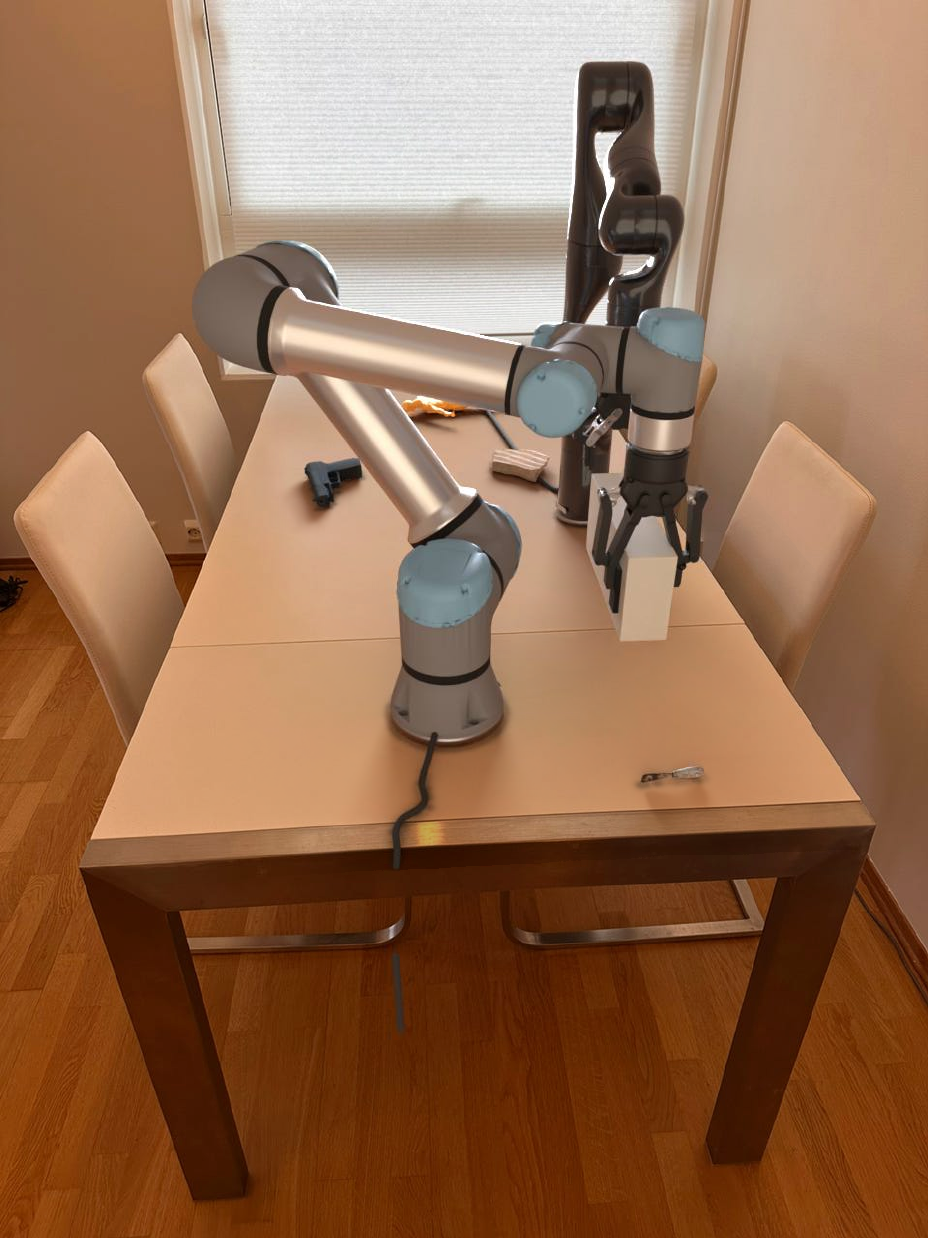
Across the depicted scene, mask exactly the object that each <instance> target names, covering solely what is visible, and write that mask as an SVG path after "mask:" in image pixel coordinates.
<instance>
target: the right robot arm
mask: <svg viewBox="0 0 928 1238" xmlns="http://www.w3.org/2000/svg"><path fill="white" fill-rule="evenodd" d="M653 79H654V78H653V75H652V71H651V70H650V68H649V67H648V65H647V64H645V63H644V62H641V61H634V60H626V61H624V60H620V61H619V60H615V61H614V60H612V61H611V60H608V61H607V60H606V61H604V60H602V61H601V60H599V61H597V60H596V61H586V62H584V63H583V64H582V65H581V66H580V67H579V70H578V73H577V76H576V80H575V88H574V100H573V101H574V102H573V103H574V104H573V109H574V110H573V149H572V150H573V152H572V153H573V154H572V155H573V157H572V184H571V196H570V207H569V218H568V227H567V238H566V251H565V277H564V278H565V279H564V280H565V281H564V301H563V313H562V321H561V323H562V322H564V321H569V322H571V323H577V324H587V322H588V320H589V318H590V316H591V315H592V313H593V312H594V310H595V309H596V307H597V306H598V305H599V303H601V301H602V299H603V298H605V296H606V294H607V299H606V300H607V301H606V314H605V324H604V326H618V327H631V326H635V327H637V323H638V322H639V317H640V315H641V313H642V312H644V311H646V310H648V309H652V308H662V298H663V292H664V287H665V282H666V279H667V276H668V273H669V270H670V267H671V264H672V262H673V259H674V256H675V254H676V251H677V249H678V246H679V244H680V241H681V238H682V235H683V233H684V230H685V229H684V228H685V221H686V219H685V218H686V217H685V216H686V215H685V210H684V208H683V204H682V203H681V201H680V200H679V199H678V197H675V196H674V195H672V194H662V181H661V176H660V171H659V166H658V161H657V157H656V150H655V135H656V133H655V131H656V130H655V129H656V126H655V125H656V123H655V89H654V87H655V86H654V80H653ZM597 135H618V136H617V137H616V138H615V139H614V140H613V142H612V143H611V145H610V146H609V148H608V150H607V153H606V155H605V158H604V161H603V170H602V168H601V166H600V163H599V158H598V156H597V152H596V151H597V150H596V136H597ZM624 256H649V257H648V259H647V260H646V262H645V263H644V265H643V266H641V267H640V268H638V269H636V270H633V271H628V272H625V273H621V271H622V268H623V263H624ZM630 406H631V394H625V393H624V394H617V393H604V392H599V394H598V396H597V400H596V404H595V406H594V408H593V409H592V411H591V414H590V415H589V416H588V417H587V419H586V420H585V421H584V422H583V423H582V424H581V426H580V427H579V428H578V429H576V430H575V431H574V432H572V433H571V434H568V435H566V436H564V437H561V439H560V440H561V441H560V461H559V478H558V487H557V486H554V485H553V484H550V482H548V481H547V480H546V479H545V478H543V477H542V476H541V474H540V475H539V476H538V478H537V481H539V482H540V483H541V484H542V485H543V486H544V487H545V488H547V489H548V490H550V491H552V492H555V493H558V494H557V501H555V507H556V517H557V519H558V520H559V521H561V522H563V523H565V524H566V525H570V526H576V527H588V514H589V501H590V488H591V475H592V474H599V473H610V465H611V454H612V441H613V431H619V430H623V429H626V430H628V427H629V419H630V410H631V408H630ZM484 412H485V413H486V414H487V416H488V417H489V419H490V420H491V422H492V423H493V424H494V426H495V427H496V429H497V430H498V432H499V433H500V434H501V436H502V437H503V439H504V440H505V442H506V443H507V444H508V446H509V448H510V449H511V450H518V448H517V447H516V446H515V444H514V443H513V442H512V440H511V438H510V437H509V435H507V433H506V432H505V430H504V429H503V427H502V425H500V423H499V421H498V420H497V419H496V417H495V416H494V415H493V412H492V411H487V410H484Z"/></svg>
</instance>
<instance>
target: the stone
mask: <svg viewBox="0 0 928 1238" xmlns="http://www.w3.org/2000/svg"><path fill="white" fill-rule="evenodd" d="M549 461H550V456H549V455H547V454H545V453H543V451H542V450H540V451H537V450H533V449H525V448H524V449H523V448H521V449H517V450H512V449H511V448H502V449H494V450H493V452H492V459H491V465H490V469H489V470H490V471H492V472H497V473H501V474H504V475H513V476H517V477H520V478H522V479H524V480H527V481H529V482H533V483H534V482H537V481H538V479H537V478H538V476H539V475H540V476H541V472H542V471H544V469H545V468H547V466H548V463H549Z"/></svg>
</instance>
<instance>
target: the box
mask: <svg viewBox="0 0 928 1238" xmlns="http://www.w3.org/2000/svg"><path fill="white" fill-rule="evenodd" d="M623 476H624V472H609V473H599V474H592V475H591V488H590V501H589V514H588V526H586V528H587V529H586V540H585V541H586V542H585V549H586V552H587V554H588V557H589V560H590V562H591V565H592V569H593V571H594V573H595V576H596V579H597V582H598V584H599V588H600V590H601V593H602V596H603V600H604V601H605V604H606V607H607V610H608V613H609V616H610V618H611V621H612V623H613V626H614V629H615V632H616V635H617V637H618V641H619V642H642V641H643V642H645V641H647V642H649V641H667V639H668V638H667V637H668V629H669V623H670V616H671V608H672V602H673V595H674V588H675V587H674V581H675V574H676V566H677V559H678V556H677V554H676V553H675V551H674V549H673V547H671V545H670V543H669V541H668V539H667V536H666V532H665V529H664V528H663V526H662V524H661V523H660V521H659V519H658V517H655V516H649V517H645V518H641V520H640V522H639V524H638V525H637V526H636V527H635V530H634V532H633V534H632V536H631V538H630V540H629V542H628V545H627V547H626V548H625V549H624V553H623V555H622V557H621V560H620V562H619V563H620V566H621V568H622V580H621V589H620V599H619V609H618V613H612V611H611V608H610V605H609V595H610V589H606V586H605V584H604V581H603V580H604V569H605V566H603V565H600V566H598V565H596V564H595V562H594V559H593V556H592V548H593V542H594V536H595V530H596V524H597V518H598V512H599V506H600V503H599V499H598V494H597V491H598V489H599V488H601V487H603V488H605V489H606V490H608V489H612V488H615V487H618V486H619V483H620V482H621V481H622V479H623ZM626 505H627V503H626V502H625V501H624V499H623V498H622V496H621V497H619V498H618V499H617V504H616V505H615V507H612V520H611V526H610V531H609V537H608V542H607V548H606V553H607V551H608V548H609V546H610V544H611V542H612V540H613V537H614V535H615V533H616V531H617V529H618V526H619V524H620V522H621V520H622V518H623V515H624V510H625V508H626Z"/></svg>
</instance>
